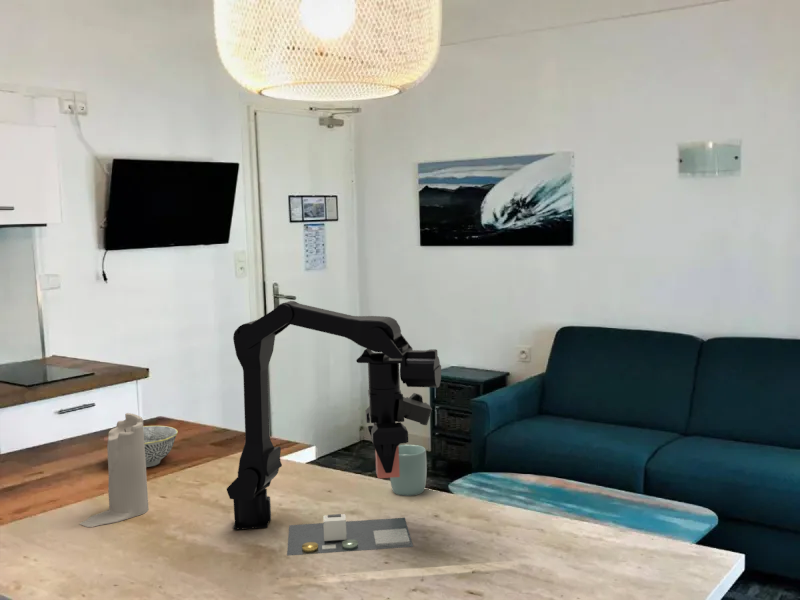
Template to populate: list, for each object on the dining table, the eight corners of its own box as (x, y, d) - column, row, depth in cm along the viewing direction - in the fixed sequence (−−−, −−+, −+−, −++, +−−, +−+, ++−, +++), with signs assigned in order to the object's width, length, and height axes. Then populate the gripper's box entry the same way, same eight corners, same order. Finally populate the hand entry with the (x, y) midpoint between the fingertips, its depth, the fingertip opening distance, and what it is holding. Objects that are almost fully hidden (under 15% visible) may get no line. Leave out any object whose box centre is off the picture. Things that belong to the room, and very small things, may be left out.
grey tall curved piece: (74, 522, 166) (66, 424, 164) (137, 502, 176) (131, 410, 174) (91, 530, 161) (84, 429, 159) (155, 510, 171) (149, 415, 169)
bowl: (193, 459, 206) (191, 429, 206) (142, 477, 193) (140, 446, 192) (149, 451, 215) (147, 422, 214) (97, 467, 202) (95, 437, 201)
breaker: (324, 541, 149) (323, 520, 148) (324, 534, 152) (323, 514, 151) (346, 539, 149) (345, 519, 149) (345, 533, 152) (345, 513, 152)
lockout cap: (377, 478, 152) (376, 444, 151) (376, 471, 156) (374, 439, 155) (399, 476, 152) (398, 443, 152) (397, 470, 156) (396, 437, 156)
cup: (423, 503, 171) (422, 455, 170) (386, 501, 172) (385, 454, 171) (429, 490, 178) (428, 444, 177) (394, 488, 180) (393, 443, 179)
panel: (287, 562, 144) (286, 551, 144) (289, 531, 158) (289, 521, 157) (413, 553, 146) (413, 542, 146) (404, 523, 160) (404, 514, 160)
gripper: (435, 394, 144) (438, 482, 146) (420, 374, 163) (423, 452, 164) (371, 398, 143) (375, 486, 145) (363, 377, 161) (367, 455, 163)
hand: (387, 469), depth 154 cm, fingers closed on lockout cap, 4 cm apart
